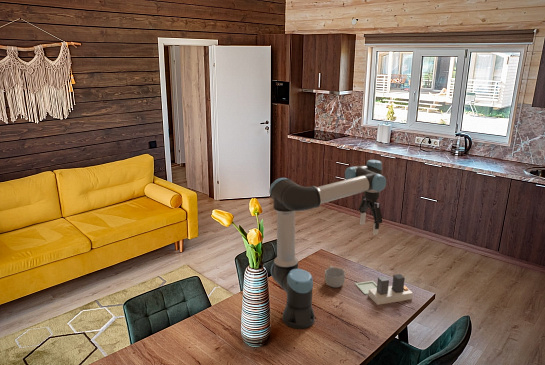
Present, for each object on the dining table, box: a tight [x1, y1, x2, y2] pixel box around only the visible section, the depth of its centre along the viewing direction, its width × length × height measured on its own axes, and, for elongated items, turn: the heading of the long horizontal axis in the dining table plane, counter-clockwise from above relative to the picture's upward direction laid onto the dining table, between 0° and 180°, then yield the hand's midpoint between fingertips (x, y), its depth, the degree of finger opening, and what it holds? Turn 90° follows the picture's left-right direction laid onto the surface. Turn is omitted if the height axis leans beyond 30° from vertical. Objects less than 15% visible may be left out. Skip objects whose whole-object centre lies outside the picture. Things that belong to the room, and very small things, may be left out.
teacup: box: [324, 265, 346, 289], centre depth 232 cm, size 14×11×8 cm
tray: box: [354, 280, 377, 296], centre depth 228 cm, size 11×11×1 cm
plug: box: [391, 273, 406, 293], centre depth 219 cm, size 4×4×11 cm
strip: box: [367, 276, 414, 306], centre depth 218 cm, size 20×9×12 cm, turn 107°
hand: (368, 229), depth 222 cm, fingers open, 13 cm apart
